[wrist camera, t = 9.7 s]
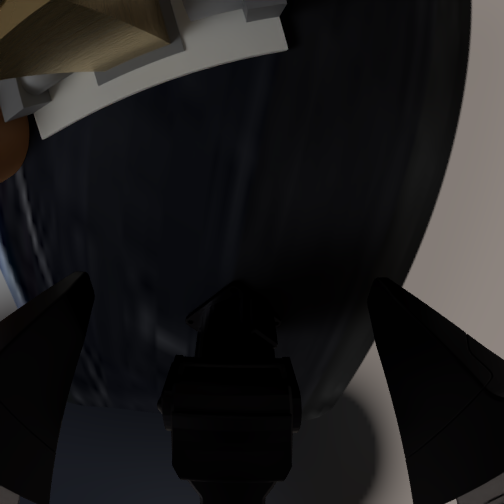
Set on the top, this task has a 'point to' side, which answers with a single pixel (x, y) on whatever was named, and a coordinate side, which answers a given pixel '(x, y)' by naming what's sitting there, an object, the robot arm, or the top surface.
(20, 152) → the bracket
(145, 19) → the gold tall square block
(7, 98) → the plate with raised blocks
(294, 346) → the top surface
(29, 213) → the top surface
